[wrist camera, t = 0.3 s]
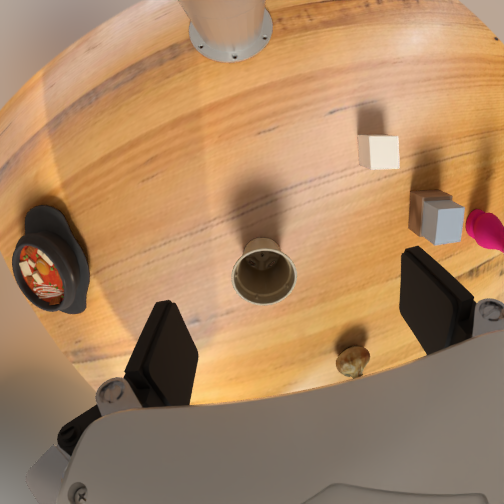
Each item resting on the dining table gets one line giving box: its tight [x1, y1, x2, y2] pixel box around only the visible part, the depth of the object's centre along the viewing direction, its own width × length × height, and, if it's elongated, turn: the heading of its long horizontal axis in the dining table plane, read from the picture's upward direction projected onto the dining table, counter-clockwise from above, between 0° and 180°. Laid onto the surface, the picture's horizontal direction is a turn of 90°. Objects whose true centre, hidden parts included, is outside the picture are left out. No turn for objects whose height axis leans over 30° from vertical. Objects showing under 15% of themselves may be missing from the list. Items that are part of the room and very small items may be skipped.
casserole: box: [12, 205, 90, 314], centre depth 46 cm, size 25×19×8 cm
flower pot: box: [232, 238, 297, 305], centre depth 45 cm, size 9×9×9 cm
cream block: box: [357, 135, 400, 170], centre depth 39 cm, size 5×5×5 cm
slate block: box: [421, 200, 465, 245], centre depth 39 cm, size 6×6×4 cm
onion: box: [336, 346, 370, 379], centre depth 56 cm, size 8×8×8 cm
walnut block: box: [408, 190, 452, 237], centre depth 43 cm, size 7×7×4 cm
